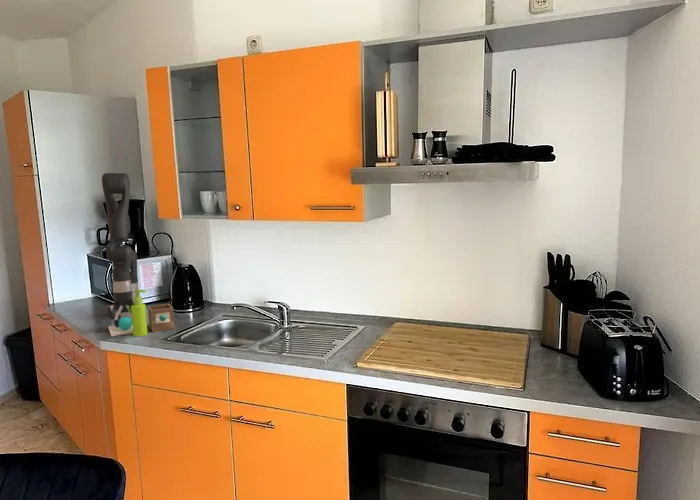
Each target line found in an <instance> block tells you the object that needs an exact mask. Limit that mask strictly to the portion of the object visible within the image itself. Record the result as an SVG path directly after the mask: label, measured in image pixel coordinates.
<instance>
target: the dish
mask: <svg viewBox="0 0 700 500" xmlns="http://www.w3.org/2000/svg"><path fill="white" fill-rule="evenodd" d="M118 327H119V326H118ZM108 330H109V331H108V332H109V334H110V336H111V337H114V336H122V335H129V334H133V326H131V327H130V328H129V329H127V330H122V329H120V328H117V327H115V325H109V326H108Z"/></svg>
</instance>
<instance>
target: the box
mask: <svg viewBox="0 0 700 500" xmlns="http://www.w3.org/2000/svg"><path fill="white" fill-rule="evenodd" d="M147 311H148V328H149V329H150V331H151V332H152V333H158V332H159V333H160V332H164V331H165V332H166V331H171V330H174V329H175V322H174V321H175V318H174V307H173V306H172V305H171V304H170V303H164V304H163V303H162V304H156V305H148V306H147Z"/></svg>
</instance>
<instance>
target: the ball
mask: <svg viewBox="0 0 700 500" xmlns="http://www.w3.org/2000/svg"><path fill="white" fill-rule="evenodd" d="M118 326H119V328H120V329H122V330H127V329H129V328H130V327H131V326H132V318H129V317H126V316H125V317H122V318H118Z"/></svg>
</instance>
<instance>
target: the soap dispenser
mask: <svg viewBox="0 0 700 500" xmlns="http://www.w3.org/2000/svg"><path fill="white" fill-rule="evenodd" d="M133 292H135V295H136V297H134V305H132V306H131V313H132V318H131V320H132V326H133V333H132V336H133V337H143V336H147V335H148V318H147V308H146V307H147V306H146V304H145V303H143V297H142V296H141V295H140V293H144V294H145V293H146V292H147V290H145V289H139V290H134V291H133Z"/></svg>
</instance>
